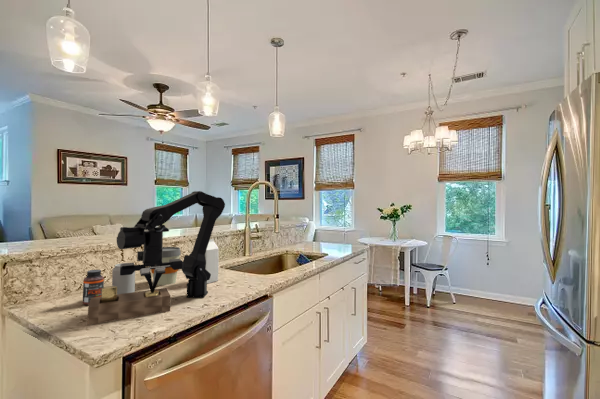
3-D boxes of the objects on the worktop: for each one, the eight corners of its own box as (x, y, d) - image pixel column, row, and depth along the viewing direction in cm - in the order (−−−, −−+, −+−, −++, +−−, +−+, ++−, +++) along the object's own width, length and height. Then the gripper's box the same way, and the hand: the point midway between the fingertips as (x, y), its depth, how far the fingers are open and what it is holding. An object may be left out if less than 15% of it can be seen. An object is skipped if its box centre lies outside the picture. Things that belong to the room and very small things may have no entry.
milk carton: (218, 280, 131) (219, 239, 132) (205, 284, 125) (206, 241, 126) (208, 278, 135) (208, 238, 135) (195, 281, 129) (196, 239, 129)
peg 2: (157, 304, 99) (158, 289, 99) (159, 307, 95) (159, 292, 95) (144, 306, 97) (144, 291, 97) (145, 310, 93) (145, 294, 93)
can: (123, 299, 105) (124, 266, 105) (106, 297, 106) (107, 265, 106) (139, 293, 112) (139, 262, 112) (123, 291, 114) (123, 261, 114)
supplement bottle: (87, 306, 97) (87, 273, 97) (79, 303, 100) (80, 271, 100) (106, 301, 102) (107, 270, 102) (98, 298, 105) (99, 268, 105)
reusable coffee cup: (165, 277, 136) (166, 246, 136) (186, 280, 131) (186, 247, 131) (142, 284, 124) (143, 249, 124) (164, 287, 119) (165, 252, 120)
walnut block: (166, 301, 103) (166, 287, 103) (170, 310, 94) (170, 295, 94) (90, 313, 91) (90, 297, 91) (87, 325, 83) (88, 307, 83)
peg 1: (116, 300, 92) (117, 285, 92) (116, 304, 89) (117, 288, 89) (101, 302, 90) (102, 287, 90) (101, 306, 87) (101, 290, 87)
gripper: (178, 241, 108) (177, 282, 108) (120, 244, 98) (119, 290, 98) (184, 245, 99) (183, 290, 98) (120, 249, 89) (119, 299, 88)
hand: (152, 292), depth 96 cm, fingers closed, pressing on peg 2
